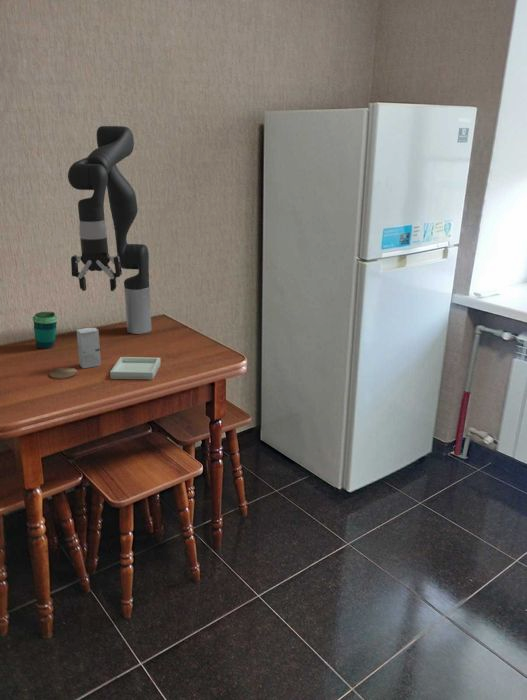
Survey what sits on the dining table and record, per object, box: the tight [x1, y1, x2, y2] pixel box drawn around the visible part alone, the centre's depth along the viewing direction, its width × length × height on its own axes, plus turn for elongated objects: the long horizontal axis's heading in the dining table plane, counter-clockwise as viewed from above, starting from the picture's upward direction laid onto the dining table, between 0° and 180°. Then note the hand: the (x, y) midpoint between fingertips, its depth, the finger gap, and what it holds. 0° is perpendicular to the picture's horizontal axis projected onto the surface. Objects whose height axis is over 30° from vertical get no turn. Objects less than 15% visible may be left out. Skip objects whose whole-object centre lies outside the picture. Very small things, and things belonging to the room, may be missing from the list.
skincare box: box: [76, 326, 102, 369], centre depth 182 cm, size 6×4×12 cm
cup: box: [32, 311, 58, 350], centre depth 199 cm, size 8×8×12 cm
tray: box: [109, 356, 162, 380], centre depth 180 cm, size 13×13×2 cm
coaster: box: [49, 367, 78, 380], centre depth 177 cm, size 8×8×1 cm
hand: (98, 290), depth 170 cm, fingers open, 8 cm apart
